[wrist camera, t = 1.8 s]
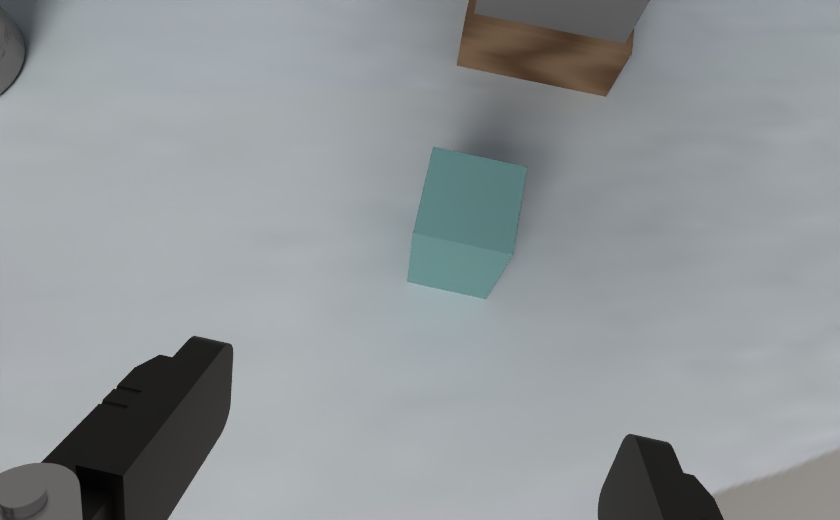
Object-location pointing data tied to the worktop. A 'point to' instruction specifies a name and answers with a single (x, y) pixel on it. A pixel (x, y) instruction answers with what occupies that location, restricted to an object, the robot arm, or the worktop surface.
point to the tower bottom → (541, 53)
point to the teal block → (465, 222)
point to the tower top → (570, 15)
